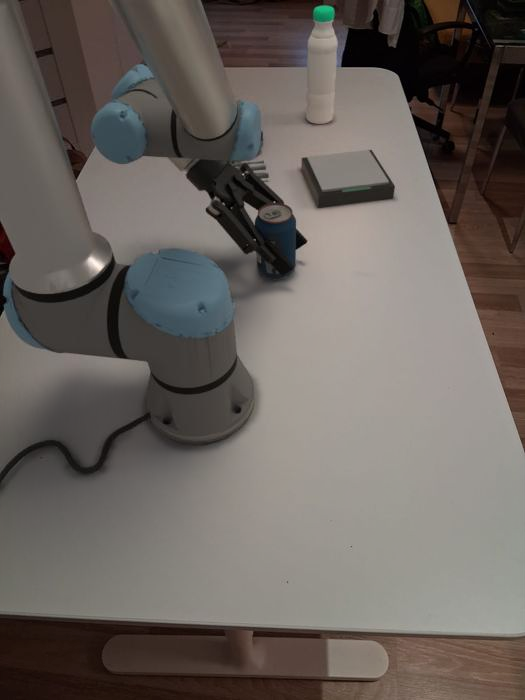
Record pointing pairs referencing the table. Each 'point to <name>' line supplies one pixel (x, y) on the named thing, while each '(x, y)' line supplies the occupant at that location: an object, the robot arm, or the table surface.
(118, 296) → the robot arm
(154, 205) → the table surface
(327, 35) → the water bottle
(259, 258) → the soda can
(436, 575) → the table surface
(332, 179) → the scale
